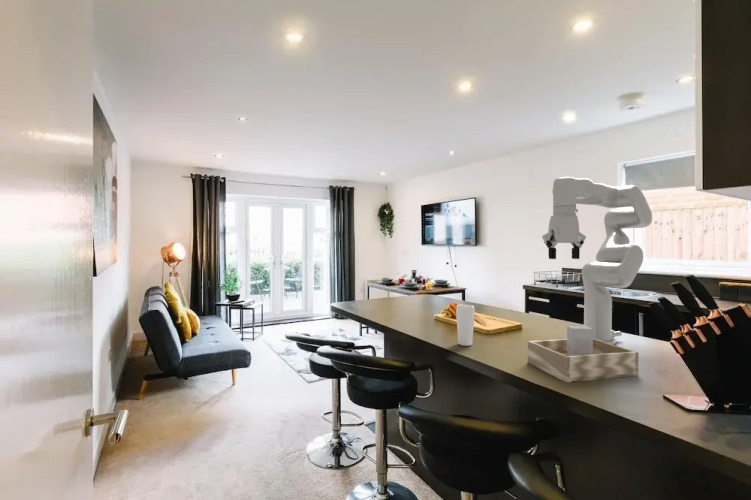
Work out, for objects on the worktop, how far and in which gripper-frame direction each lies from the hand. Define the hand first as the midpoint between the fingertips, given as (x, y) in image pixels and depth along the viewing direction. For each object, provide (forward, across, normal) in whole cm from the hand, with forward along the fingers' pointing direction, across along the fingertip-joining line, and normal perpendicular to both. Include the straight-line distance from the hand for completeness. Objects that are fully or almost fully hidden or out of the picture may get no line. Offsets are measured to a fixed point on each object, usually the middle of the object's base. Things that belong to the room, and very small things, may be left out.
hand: (564, 258), depth 138 cm
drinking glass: (+34, +32, -14) cm, 48 cm away
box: (+33, +10, +20) cm, 40 cm away
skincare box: (+32, +10, +20) cm, 39 cm away
